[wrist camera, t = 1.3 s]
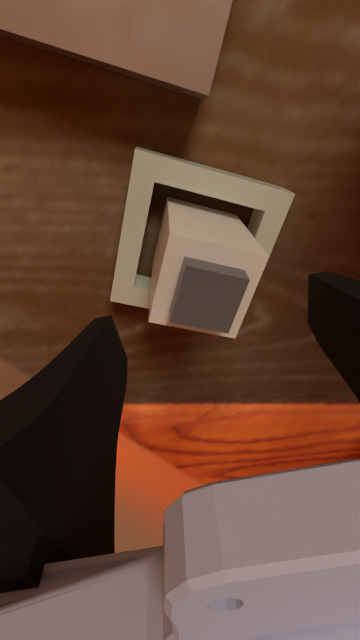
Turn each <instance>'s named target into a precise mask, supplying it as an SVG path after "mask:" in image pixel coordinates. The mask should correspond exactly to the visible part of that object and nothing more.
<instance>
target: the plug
mask: <svg viewBox="0 0 360 640" xmlns="http://www.w3.org/2000/svg"><path fill="white" fill-rule="evenodd" d="M268 258H269V255H268V254H267V253H266V252H265V250H264V249H263V248H262V247H261V245H260V244H259V243H258V242H257V240H256V239H255V238H254V237H253V235H252V234H251V233H250V231H249V230H248V229H247V228H246V226H245V225H244V224H243V223H242V221H241V220H240V219H239V218H238V216H237V215H236V214H232V213H228V212H224V211H220V210H217V209H213V208H209V207H205V206H201V205H197V204H193V203H190V202H186V201H182V200H178V199H174V198H170V197H167V200H166V204H165V209H164V213H163V218H162V222H161V227H160V231H159V236H158V240H157V245H156V249H155V254H154V258H153V262H152V274H151V288H150V303H149V318H148V322H150V323H156V324H161V325H166V326H172V327H177V328H182V329H187V330H193V331H198V332H203V333H208V334H214V335H219V336H224V337H230V338H236V335H237V333H238V331H239V328H240V326H241V323H242V321H243V319H244V316H245V314H246V311H247V309H248V307H249V304H250V302H251V299H252V297H253V295H254V292H255V290H256V287H257V285H258V282H259V280H260V278H261V275H262V273H263V270H264V268H265V266H266V263H267V261H268Z"/></svg>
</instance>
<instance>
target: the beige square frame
mask: <svg viewBox="0 0 360 640" xmlns="http://www.w3.org/2000/svg"><path fill="white" fill-rule="evenodd" d="M154 182H156V183H160V184H164V185H168V186H171V187H175V188H179V189H183V190H187V191H190V192H194V193H198V194H202V195H205V196H209V197H213V198H217V199H221V200H224V201H228V202H232V203H236V204H239V205H243V206H247V207H251V208H254V210H253V212H252V215H251V218H250V221H249V223H248V226H247V229H248V230H249V231H250V233H251V234H252V235H253V237H254V238H255V239H256V240H257V242H258V243H259V244H260V245H261V247H262V248H263V249H264V250H265V252H266V253H267V254H268V255H269V256H270V253H271V251H272V249H273V246H274V244H275V241H276V239H277V237H278V234H279V232H280V229H281V227H282V225H283V222H284V220H285V217H286V215H287V213H288V210H289V208H290V205H291V203H292V200H293V198H294V196H295V194H294V193H293V192H291V191H289V190H287V189H285V188H283V187H280V186H277V185H273V184H270V183H266V182H263V181H259V180H256V179H252V178H249V177H245V176H241V175H238V174H234V173H231V172H227V171H224V170H220V169H217V168H213V167H209V166H206V165H202V164H199V163H195V162H192V161H188V160H185V159H181V158H178V157H174V156H170V155H167V154H163V153H160V152H156V151H153V150H149V149H146V148H142V147H138V146H137V147H136V148H135V152H134V158H133V164H132V170H131V176H130V182H129V188H128V194H127V201H126V207H125V213H124V219H123V225H122V231H121V237H120V243H119V249H118V255H117V262H116V268H115V274H114V280H113V286H112V292H111V298H110V301H112V302H117V303H122V304H127V305H132V306H138V307H143V308H148V309H149V303H150V288H151V277H147V276H142V275H138V274H136V271H137V266H138V261H139V256H140V251H141V246H142V241H143V236H144V231H145V226H146V221H147V216H148V211H149V206H150V201H151V197H152V192H153V187H154Z"/></svg>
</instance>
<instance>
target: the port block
mask: <svg viewBox="0 0 360 640" xmlns="http://www.w3.org/2000/svg"><path fill="white" fill-rule="evenodd" d="M232 1H233V0H0V36H2V37H5V38H8V39H12V40H15V41H18V42H21V43H24V44H27V45H31V46H34V47H37V48H40V49H43V50H46V51H49V52H53V53H56V54H59V55H62V56H65V57H68V58H72V59H75V60H78V61H81V62H84V63H87V64H90V65H94V66H97V67H100V68H103V69H106V70H109V71H112V72H116V73H119V74H122V75H125V76H128V77H131V78H135V79H138V80H141V81H144V82H147V83H150V84H153V85H157V86H160V87H163V88H166V89H169V90H172V91H176V92H179V93H182V94H185V95H188V96H191V97H194V98H198V99H201V100H202V99H204V98H206V97H207V96H209V93H210V89H211V85H212V81H213V77H214V73H215V69H216V65H217V61H218V57H219V53H220V49H221V45H222V41H223V37H224V33H225V29H226V25H227V21H228V17H229V13H230V9H231V5H232Z"/></svg>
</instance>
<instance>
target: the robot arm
mask: <svg viewBox="0 0 360 640" xmlns="http://www.w3.org/2000/svg"><path fill="white" fill-rule="evenodd" d="M308 324H309V326H310V328H311V330H312V332H313V334H314V336H315V338H316V340H317V342H318V344H319V345H320V347H321V348H322V350H323V351H324V352H325V354H326V355H327V357H328V358H329V359H330V361H331V362H332V364H333V365H334V366H335V368H336V369H337V370H338V372H339V373H340V374H341V376H342V377H343V379H344V380H345V381H346V383H347V384H348V385H349V387H350V388H351V390H352V391H353V392H354V394H355V395H356V397H357V399H358V400H359V402H360V281H357V280H354V279H351V278H348V277H345V276H342V275H338V274H335V273H331V272H321V273H316V274H311V275H309V279H308ZM126 384H127V356H126V354H125V351H124V348H123V346H122V343H121V340H120V338H119V335H118V332H117V330H116V327H115V324H114V322H113V319H112V316H106V317H101V318H96V319H94V320H93V321H92V322H91V323H90V324H89V325H88V326H87V327H86V328H85V329H84V330H83V331H82V332H81V333H80V334H79V335H78V336H77V337H76V338H75V339H74V340H73V341H72V342H71V343H70V344H69V345H68V346H67V347H66V348H65V349H64V350H63V351H62V352H61V353H60V354H59V355H57V356H56V357H55V358H54V359H53V360H52V361H51V362H50V363H49V364H48V365H47V366H46V367H44V368H43V369H42V370H41V371H40V372H39V373H37V374H36V375H35V376H34V377H32V378H31V379H30V380H29V381H27V382H26V383H25V384H23V385H22V386H21V387H20V388H18V389H17V390H15V391H14V392H12V393H11V394H9V395H8V396H6V397H5V398H3V399H2V400H0V640H360V459H350V460H344V461H338V462H332V463H326V464H320V465H314V466H308V467H302V468H296V469H290V470H284V471H278V472H272V473H266V474H260V475H254V476H248V477H242V478H236V479H230V480H224V481H218V482H212V483H209V484H206V485H203V486H200V487H197V488H194V489H191V490H188V491H186V492H184V493H183V494H182V495H181V496H180V497H179V498H178V499H177V500H176V501H175V502H173V503H172V504H171V505H170V506H169V507H168V508H167V509H166V510H165V511H164V526H163V531H164V532H163V537H164V538H163V543H164V544H163V546H158V547H152V548H146V549H139V550H133V551H126V552H120V553H115V551H114V507H115V505H114V504H115V500H114V499H115V469H116V452H117V439H118V432H119V426H120V420H121V414H122V409H123V403H124V397H125V390H126Z"/></svg>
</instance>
